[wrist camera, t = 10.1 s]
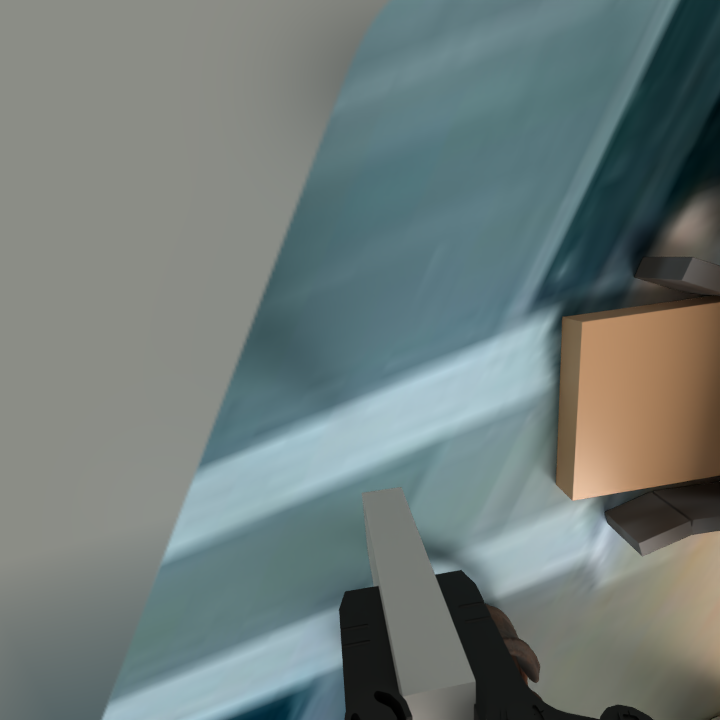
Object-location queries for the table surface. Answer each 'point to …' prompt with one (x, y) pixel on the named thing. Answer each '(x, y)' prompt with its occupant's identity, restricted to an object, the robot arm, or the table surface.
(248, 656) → the table surface
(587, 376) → the terracotta panel
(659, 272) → the walnut shelf
